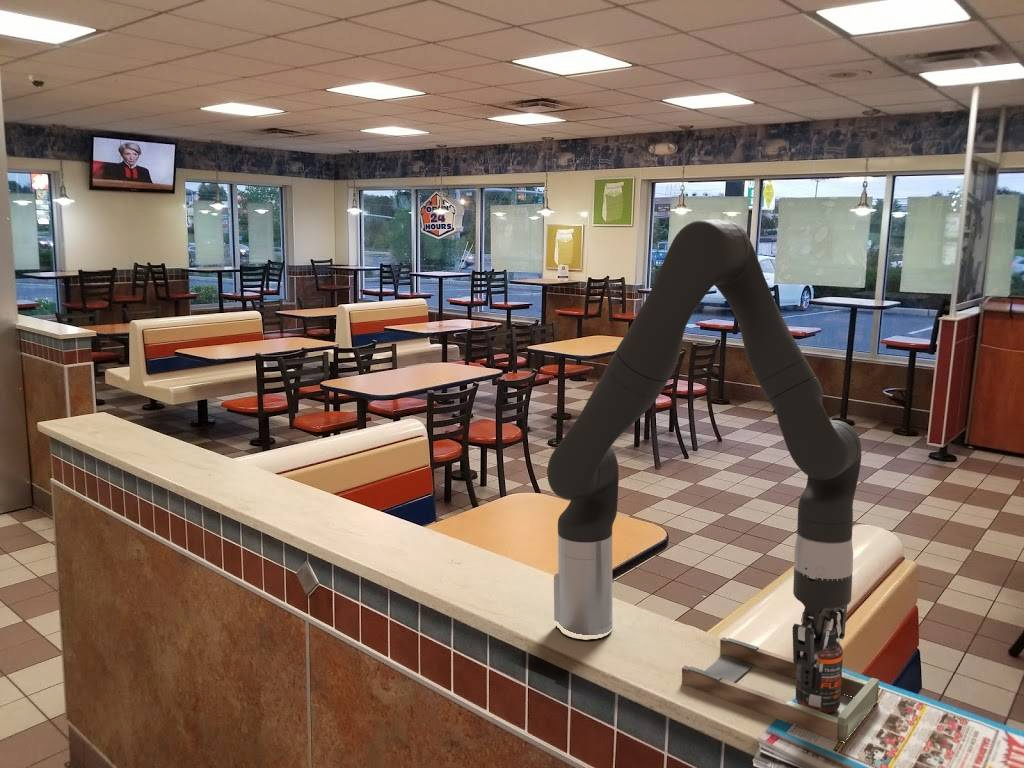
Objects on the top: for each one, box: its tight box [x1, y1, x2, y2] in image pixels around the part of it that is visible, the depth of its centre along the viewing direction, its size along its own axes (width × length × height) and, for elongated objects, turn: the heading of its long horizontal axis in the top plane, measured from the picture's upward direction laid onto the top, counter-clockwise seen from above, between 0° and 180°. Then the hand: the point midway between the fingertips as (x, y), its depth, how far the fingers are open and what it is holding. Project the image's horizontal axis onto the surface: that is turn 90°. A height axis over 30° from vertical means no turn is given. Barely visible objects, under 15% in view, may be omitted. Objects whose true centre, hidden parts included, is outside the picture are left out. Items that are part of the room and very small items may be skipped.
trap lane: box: [681, 637, 880, 742], centre depth 118 cm, size 24×13×4 cm, turn 48°
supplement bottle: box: [795, 627, 844, 714], centre depth 114 cm, size 6×6×11 cm
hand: (818, 680), depth 114 cm, fingers closed on supplement bottle, 6 cm apart
